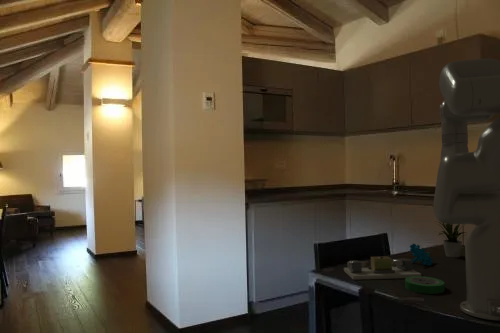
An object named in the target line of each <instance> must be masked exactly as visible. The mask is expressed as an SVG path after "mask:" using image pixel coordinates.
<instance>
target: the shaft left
mask: <svg viewBox="0 0 500 333" xmlns="http://www.w3.org/2000/svg"><path fill="white" fill-rule="evenodd" d="M346 266H347V268H348V269H349V270H350V271H351V272H352V273H362V268H369V266H370V262H369V261H368V260H359V259H357V260H355V259H353V260H351V259H350V260H349V261H347V262H346Z"/></svg>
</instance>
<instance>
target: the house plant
mask: <svg viewBox="0 0 500 333" xmlns="http://www.w3.org/2000/svg"><path fill="white" fill-rule="evenodd" d="M435 222H436V223H437V225H438V226H439V227H441V228H442V231H435V232H437V233H439V234H438V235H437V237H439V236H443V237H444V238H445V239H443V240H442V242H443V243H442V244H443V248H444V251H445V257H448V258H460V257H461V250H462V244H463V241H462V240H460V239H461V238H462V237H464V236H465V234H467V233H468V232H466V231H462V232H460V230H461V229H462V228H463V227H465V226H466V224H462V226H461V227H460V225H461V224H456V225H455V226H454V228H453V225H454V224H446V223H442V222H440V221H438V220H435ZM461 235H462V236H461ZM458 237H459V238H458Z"/></svg>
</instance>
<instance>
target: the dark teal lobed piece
mask: <svg viewBox="0 0 500 333" xmlns="http://www.w3.org/2000/svg"><path fill="white" fill-rule="evenodd" d="M409 248H410V249H409V251H410V252H411V253H412V256H413V257H414V258H413V259H411V260H412V262H413V264H415V263H416V262H420V263H421V264H422V265H423V266H425V265H426V266H427V267H430V266H431V265H432V264H433V258H432V257H430V254H431V253H430V252H429V251H427V252H426V249H425V248H424V247H423V248H422V247H421V245H419V244H417V245H416V243H411V244H410V246H409Z"/></svg>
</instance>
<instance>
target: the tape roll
mask: <svg viewBox="0 0 500 333" xmlns="http://www.w3.org/2000/svg"><path fill="white" fill-rule="evenodd" d="M404 287H405V289H406V290H409V291H410V292H414V293H417V294H427V295H430V294H431V295H432V294H436V295H437V294H442V293H444V292H445V291H446V290H445V282H444V281H443V280H441V279H440V278H439V279H438V278H437V277H436V278H435V277H431V276H422V275H421V276H413V277H408V278H404Z"/></svg>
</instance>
